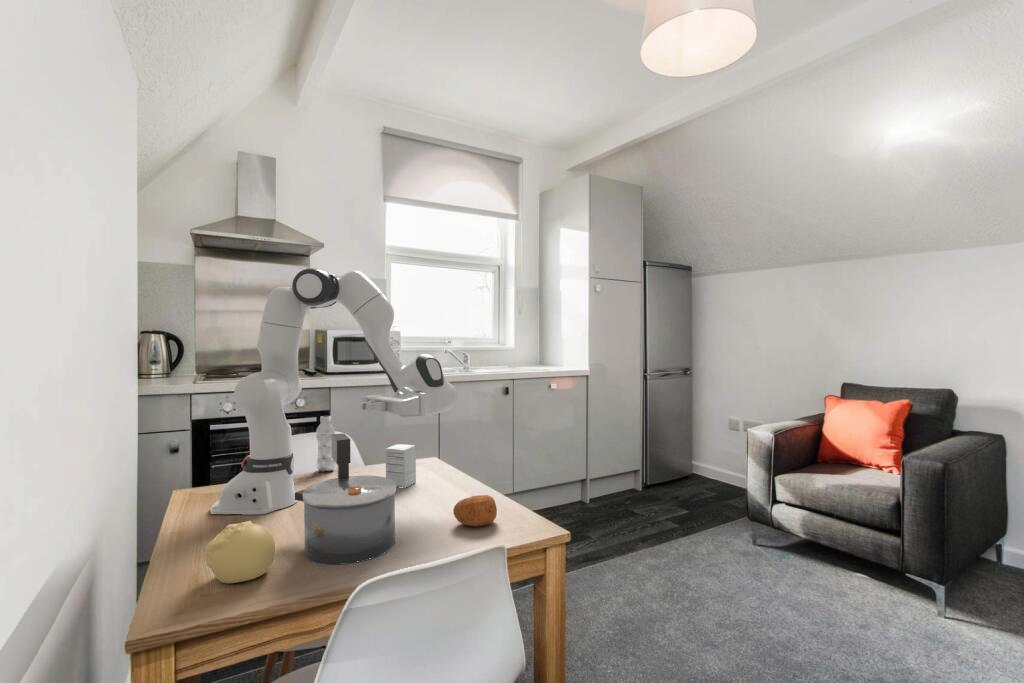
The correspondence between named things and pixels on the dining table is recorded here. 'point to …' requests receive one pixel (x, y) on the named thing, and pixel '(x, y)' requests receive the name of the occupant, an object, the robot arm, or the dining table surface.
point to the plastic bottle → (325, 444)
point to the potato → (476, 510)
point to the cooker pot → (348, 531)
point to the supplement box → (401, 464)
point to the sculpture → (240, 552)
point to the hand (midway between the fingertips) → (364, 406)
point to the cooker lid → (347, 483)
